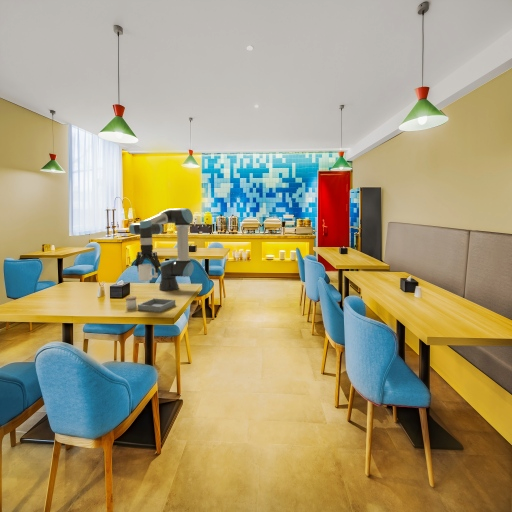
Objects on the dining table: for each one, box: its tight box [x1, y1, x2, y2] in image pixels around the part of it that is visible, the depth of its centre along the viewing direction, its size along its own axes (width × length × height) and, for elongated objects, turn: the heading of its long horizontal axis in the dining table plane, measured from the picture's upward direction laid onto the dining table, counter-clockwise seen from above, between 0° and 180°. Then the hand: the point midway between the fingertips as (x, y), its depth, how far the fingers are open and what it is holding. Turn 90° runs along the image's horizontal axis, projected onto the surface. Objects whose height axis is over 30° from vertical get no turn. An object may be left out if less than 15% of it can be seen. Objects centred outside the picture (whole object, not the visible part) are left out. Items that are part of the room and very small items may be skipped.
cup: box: [137, 263, 155, 282], centre depth 210 cm, size 8×12×10 cm
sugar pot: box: [125, 295, 138, 310], centre depth 207 cm, size 7×7×7 cm
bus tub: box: [137, 297, 176, 313], centre depth 207 cm, size 17×17×4 cm
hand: (148, 277), depth 211 cm, fingers closed on cup, 12 cm apart
